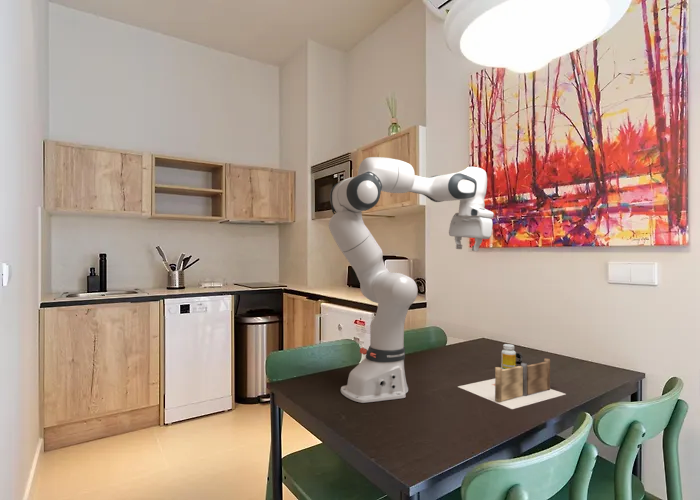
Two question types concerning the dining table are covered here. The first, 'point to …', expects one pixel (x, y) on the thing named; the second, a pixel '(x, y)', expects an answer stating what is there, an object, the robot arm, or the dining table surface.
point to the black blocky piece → (519, 355)
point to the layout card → (488, 392)
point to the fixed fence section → (536, 377)
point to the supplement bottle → (508, 356)
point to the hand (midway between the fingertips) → (466, 250)
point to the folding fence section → (508, 383)
